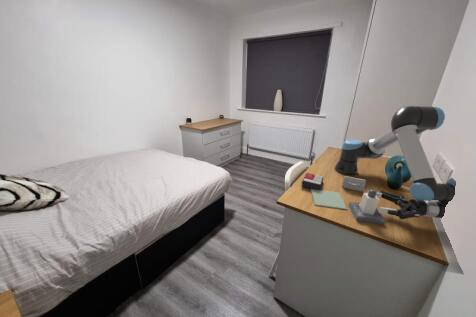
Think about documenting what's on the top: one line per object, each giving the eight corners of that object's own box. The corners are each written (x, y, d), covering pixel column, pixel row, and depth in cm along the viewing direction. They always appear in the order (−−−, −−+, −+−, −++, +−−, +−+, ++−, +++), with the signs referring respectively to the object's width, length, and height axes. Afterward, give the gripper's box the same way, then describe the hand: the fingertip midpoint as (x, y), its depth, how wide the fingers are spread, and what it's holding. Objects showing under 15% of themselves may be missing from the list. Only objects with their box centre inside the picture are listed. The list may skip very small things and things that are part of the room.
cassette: (341, 187, 124) (344, 176, 121) (341, 186, 126) (344, 175, 123) (363, 192, 120) (366, 181, 117) (362, 190, 122) (366, 179, 119)
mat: (310, 189, 120) (310, 189, 120) (338, 193, 117) (338, 192, 117) (314, 205, 106) (315, 204, 105) (346, 209, 103) (347, 208, 103)
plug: (357, 210, 102) (365, 187, 97) (368, 212, 102) (376, 188, 96) (361, 216, 98) (369, 192, 92) (372, 218, 97) (381, 194, 92)
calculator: (323, 176, 130) (321, 184, 117) (322, 181, 131) (319, 190, 118) (306, 172, 134) (302, 179, 122) (305, 178, 136) (301, 185, 123)
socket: (348, 205, 106) (349, 201, 105) (372, 209, 104) (374, 205, 103) (356, 220, 95) (357, 216, 94) (383, 224, 93) (385, 220, 92)
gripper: (438, 232, 82) (382, 224, 86) (403, 199, 105) (361, 194, 109) (446, 218, 80) (388, 210, 83) (409, 187, 102) (364, 182, 106)
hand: (372, 201), depth 96 cm, fingers open, 13 cm apart
